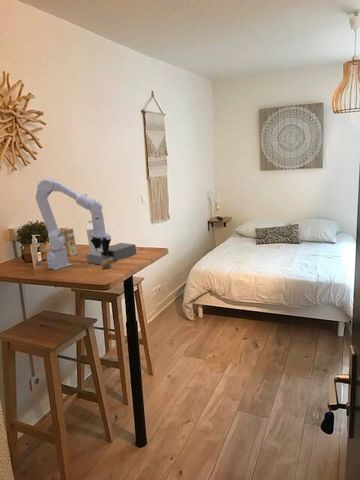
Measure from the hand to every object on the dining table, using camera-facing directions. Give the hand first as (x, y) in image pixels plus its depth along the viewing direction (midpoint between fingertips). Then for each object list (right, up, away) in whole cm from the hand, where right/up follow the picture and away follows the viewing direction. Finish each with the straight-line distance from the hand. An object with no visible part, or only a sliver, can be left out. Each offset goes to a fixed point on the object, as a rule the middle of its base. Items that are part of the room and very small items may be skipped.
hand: (102, 252), depth 195 cm
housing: (+7, -2, +8) cm, 11 cm away
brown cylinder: (+5, -7, -12) cm, 15 cm away
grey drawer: (+1, -4, +2) cm, 5 cm away
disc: (0, +1, 0) cm, 1 cm away
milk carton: (-5, -2, +17) cm, 18 cm away
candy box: (-23, -2, +24) cm, 33 cm away
